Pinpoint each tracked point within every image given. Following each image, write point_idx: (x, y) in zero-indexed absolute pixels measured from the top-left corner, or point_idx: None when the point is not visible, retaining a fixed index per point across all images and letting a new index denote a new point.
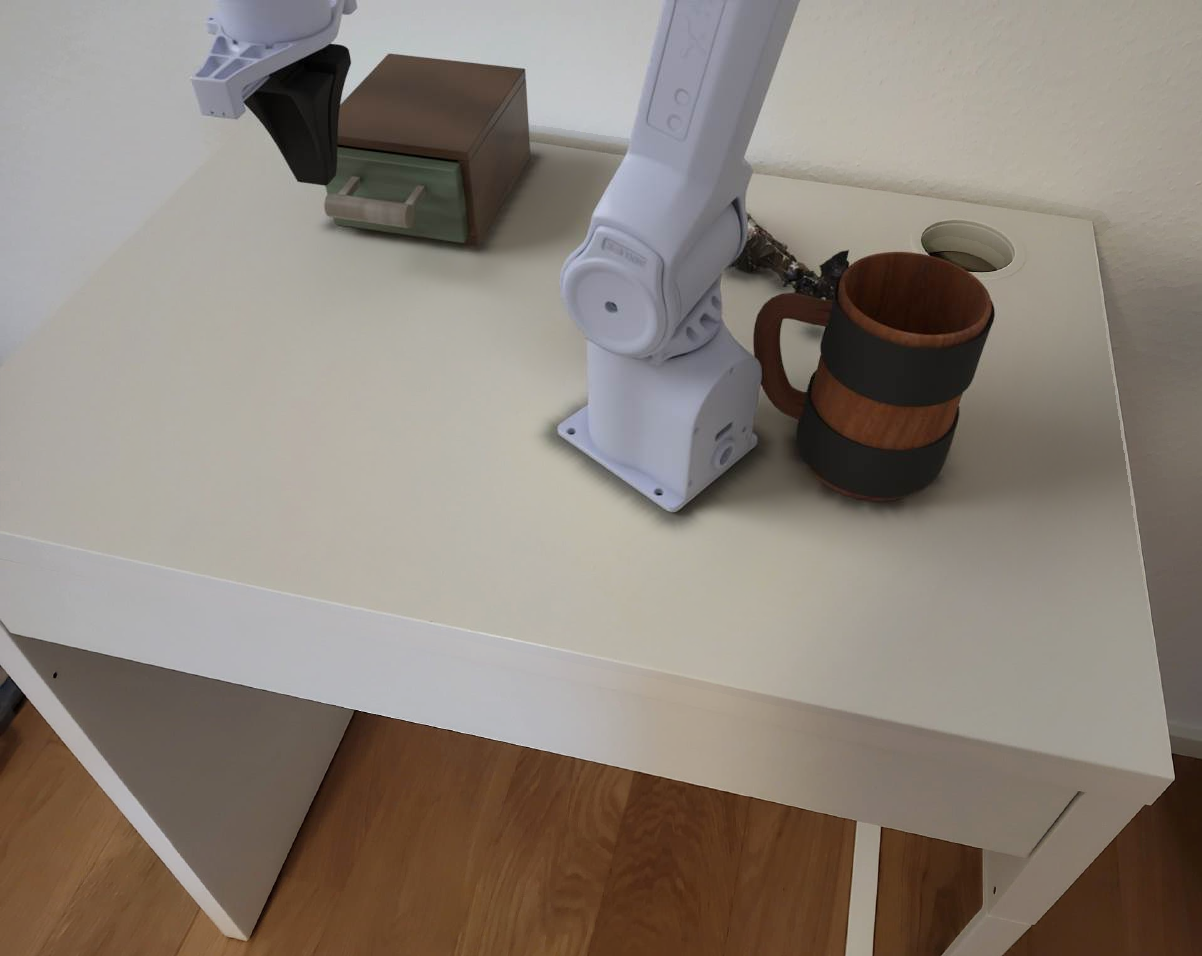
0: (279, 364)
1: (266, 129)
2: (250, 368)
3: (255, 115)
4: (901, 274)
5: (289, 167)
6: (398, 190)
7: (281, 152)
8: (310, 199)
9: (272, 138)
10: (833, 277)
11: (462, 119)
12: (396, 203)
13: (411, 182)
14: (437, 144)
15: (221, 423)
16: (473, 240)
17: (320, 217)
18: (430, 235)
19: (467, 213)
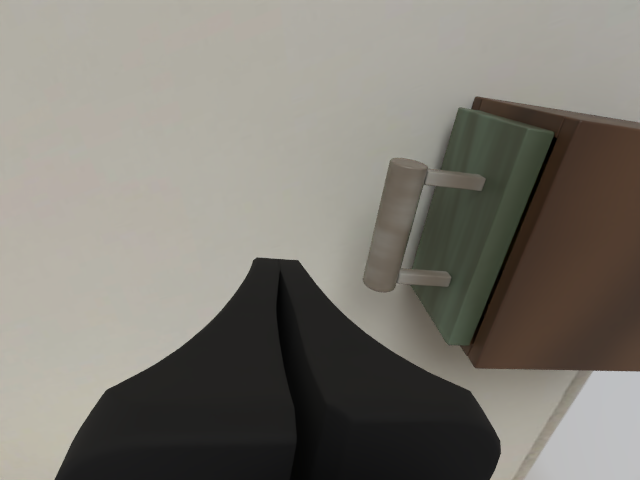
0: (154, 121)
1: (215, 317)
2: (134, 83)
3: (188, 341)
4: None
5: (254, 265)
6: (456, 242)
7: (241, 285)
8: (552, 28)
9: (229, 301)
10: None
11: (571, 339)
12: (388, 277)
13: (456, 270)
14: (501, 329)
15: (14, 84)
16: None
17: (498, 63)
18: (420, 245)
19: None
